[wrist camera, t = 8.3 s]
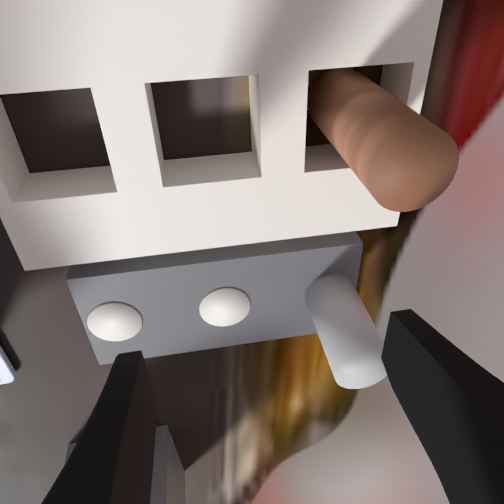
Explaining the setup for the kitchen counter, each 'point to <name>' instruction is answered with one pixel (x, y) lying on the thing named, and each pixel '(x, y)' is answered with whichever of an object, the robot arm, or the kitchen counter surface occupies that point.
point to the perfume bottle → (163, 470)
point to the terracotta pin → (383, 140)
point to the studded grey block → (234, 302)
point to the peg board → (206, 167)
